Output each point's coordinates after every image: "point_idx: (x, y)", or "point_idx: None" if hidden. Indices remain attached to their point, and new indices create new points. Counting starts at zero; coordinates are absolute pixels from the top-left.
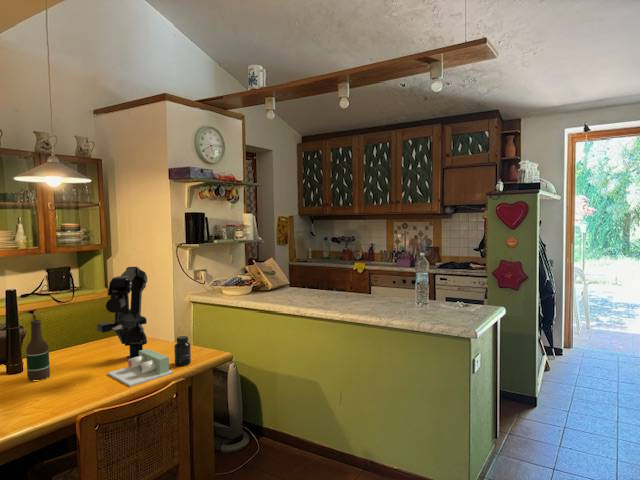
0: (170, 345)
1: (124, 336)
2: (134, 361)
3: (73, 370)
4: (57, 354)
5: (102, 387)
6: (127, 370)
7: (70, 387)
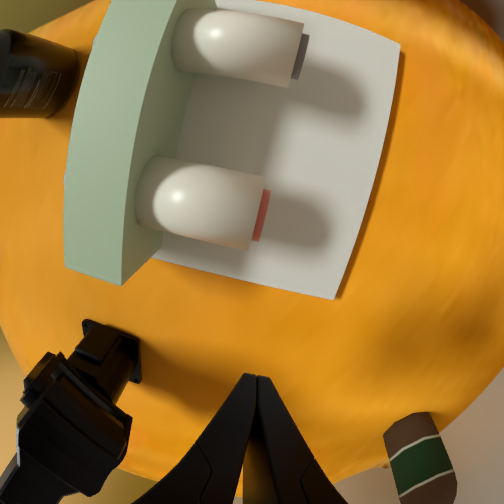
0: (7, 318)
1: (244, 455)
2: (244, 178)
3: (334, 423)
4: None
5: (452, 174)
6: (262, 229)
7: (469, 298)
